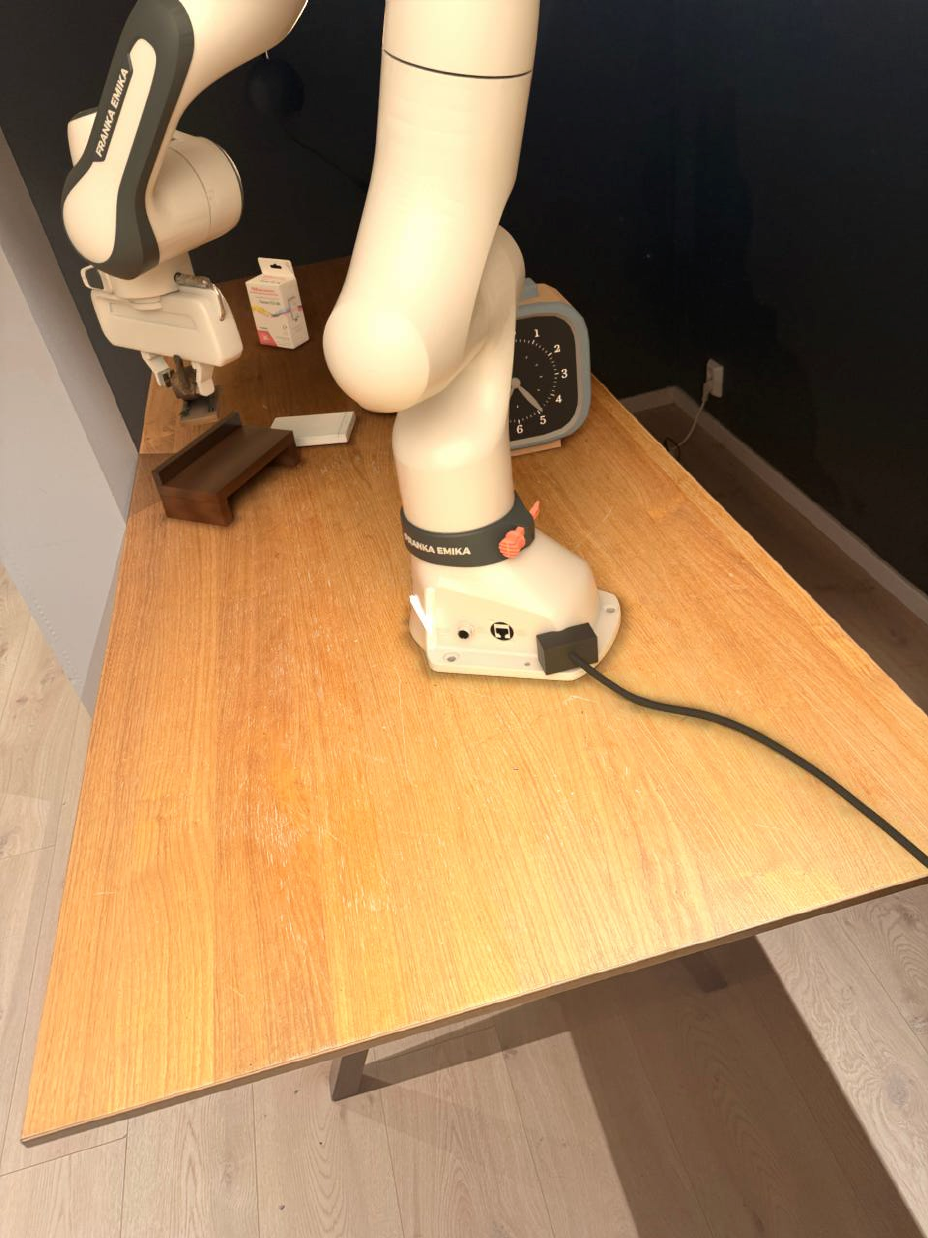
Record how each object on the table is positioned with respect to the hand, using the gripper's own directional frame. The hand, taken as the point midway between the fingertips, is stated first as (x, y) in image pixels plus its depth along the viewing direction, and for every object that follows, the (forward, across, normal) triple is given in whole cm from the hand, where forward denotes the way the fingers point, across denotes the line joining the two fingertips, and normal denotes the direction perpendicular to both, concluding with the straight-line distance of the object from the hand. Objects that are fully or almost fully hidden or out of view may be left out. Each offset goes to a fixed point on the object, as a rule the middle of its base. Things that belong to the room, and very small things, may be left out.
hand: (186, 389), depth 111 cm
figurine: (+4, -1, 0) cm, 4 cm away
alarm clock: (+20, -22, -35) cm, 45 cm away
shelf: (+20, +8, -9) cm, 23 cm away
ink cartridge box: (+20, +41, -54) cm, 70 cm away
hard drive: (+20, +9, -26) cm, 34 cm away
